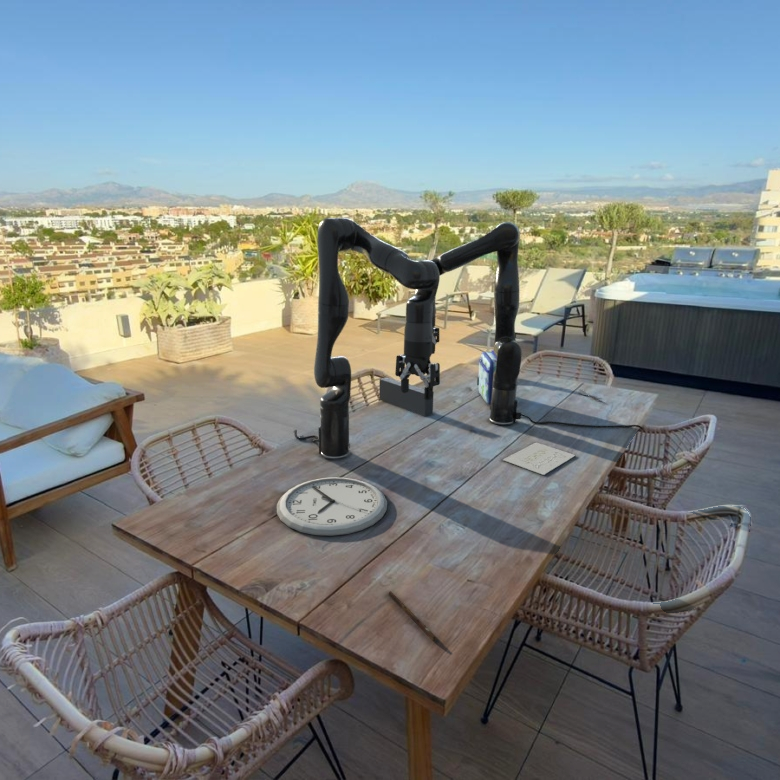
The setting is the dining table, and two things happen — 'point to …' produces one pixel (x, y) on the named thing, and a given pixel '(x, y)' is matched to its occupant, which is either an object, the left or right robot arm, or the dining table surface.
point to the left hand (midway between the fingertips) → (416, 395)
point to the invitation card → (539, 458)
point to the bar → (405, 397)
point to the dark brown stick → (412, 616)
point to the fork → (589, 395)
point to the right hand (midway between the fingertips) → (424, 355)
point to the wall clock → (331, 506)
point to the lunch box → (486, 375)
